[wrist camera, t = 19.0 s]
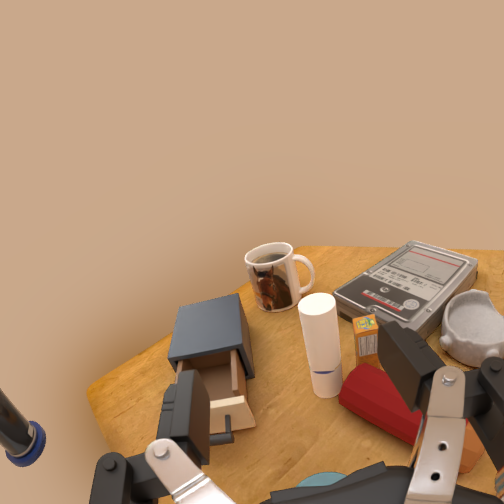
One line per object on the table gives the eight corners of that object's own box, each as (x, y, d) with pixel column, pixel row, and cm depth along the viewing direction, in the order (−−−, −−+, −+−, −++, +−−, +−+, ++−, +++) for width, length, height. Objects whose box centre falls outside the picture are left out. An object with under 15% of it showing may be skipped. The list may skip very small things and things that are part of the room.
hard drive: (477, 278, 47) (479, 259, 46) (408, 356, 38) (411, 335, 36) (412, 256, 63) (412, 239, 61) (332, 312, 54) (330, 292, 52)
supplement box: (354, 367, 40) (351, 316, 36) (376, 363, 39) (376, 311, 35) (356, 384, 37) (355, 332, 33) (379, 380, 36) (382, 327, 32)
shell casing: (459, 483, 17) (482, 459, 14) (337, 413, 33) (335, 382, 30) (486, 438, 20) (507, 407, 18) (369, 382, 36) (371, 347, 34)
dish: (462, 303, 43) (466, 280, 41) (521, 331, 31) (529, 306, 29) (419, 347, 39) (423, 323, 37) (487, 387, 26) (497, 363, 25)
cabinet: (255, 377, 43) (242, 343, 40) (185, 390, 44) (167, 358, 41) (248, 324, 57) (238, 292, 54) (192, 337, 57) (179, 307, 54)
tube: (329, 371, 40) (318, 288, 35) (349, 386, 37) (343, 301, 31) (307, 387, 39) (290, 305, 33) (325, 403, 35) (313, 320, 30)
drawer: (259, 452, 30) (247, 430, 27) (180, 461, 30) (160, 440, 28) (248, 361, 46) (239, 334, 44) (188, 372, 46) (175, 348, 44)
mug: (284, 280, 69) (274, 237, 65) (321, 296, 59) (313, 247, 55) (248, 302, 64) (235, 257, 60) (283, 322, 55) (271, 272, 51)
